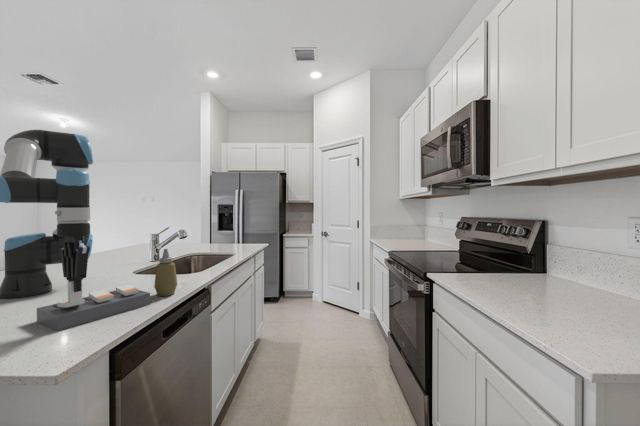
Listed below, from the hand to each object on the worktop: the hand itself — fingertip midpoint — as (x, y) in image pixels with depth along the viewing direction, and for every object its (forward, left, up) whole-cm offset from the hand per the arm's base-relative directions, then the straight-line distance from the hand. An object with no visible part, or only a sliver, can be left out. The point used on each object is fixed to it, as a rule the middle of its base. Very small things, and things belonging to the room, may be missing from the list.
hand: (75, 302), depth 87 cm
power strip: (-8, +8, -6) cm, 13 cm away
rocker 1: (-3, 0, -1) cm, 3 cm away
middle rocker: (-3, +8, -1) cm, 9 cm away
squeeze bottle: (-4, +31, -7) cm, 32 cm away
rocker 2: (-3, +16, -1) cm, 16 cm away
